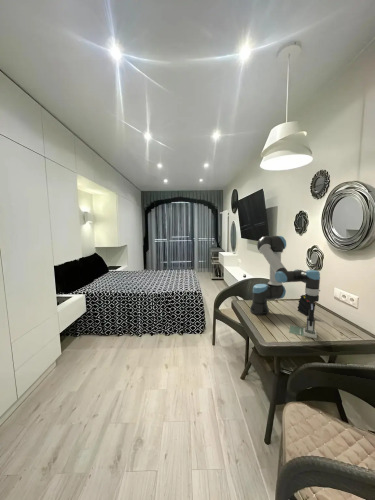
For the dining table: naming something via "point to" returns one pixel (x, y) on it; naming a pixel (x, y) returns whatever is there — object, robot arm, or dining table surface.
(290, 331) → the board
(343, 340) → the dining table surface
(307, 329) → the plug
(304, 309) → the black ridged module
